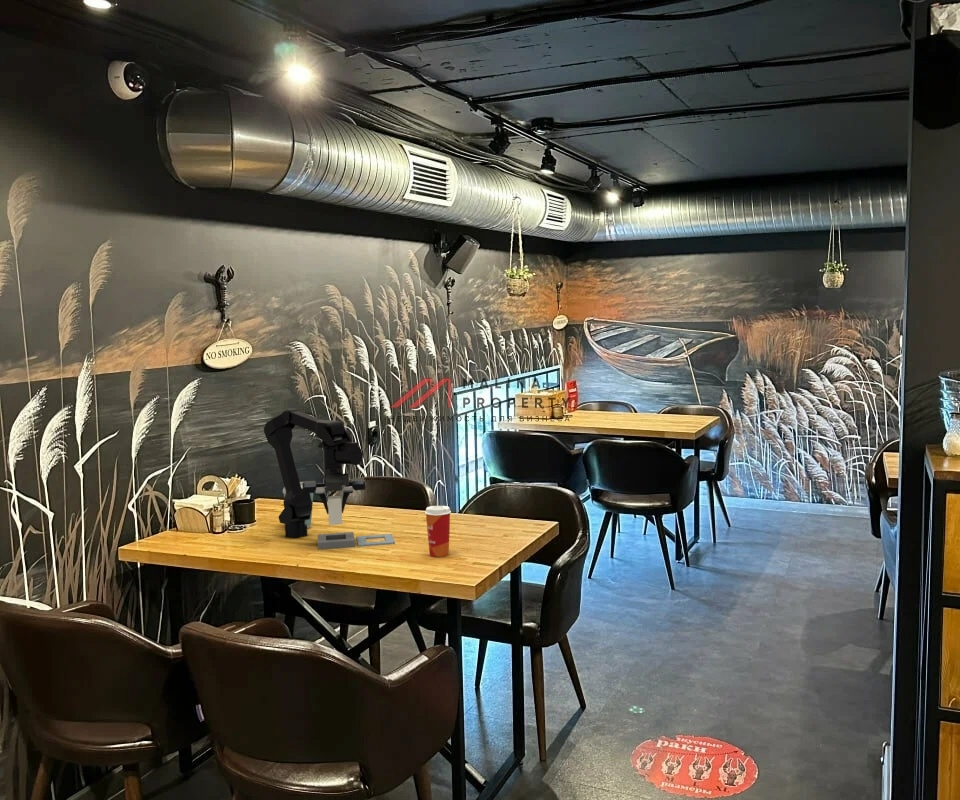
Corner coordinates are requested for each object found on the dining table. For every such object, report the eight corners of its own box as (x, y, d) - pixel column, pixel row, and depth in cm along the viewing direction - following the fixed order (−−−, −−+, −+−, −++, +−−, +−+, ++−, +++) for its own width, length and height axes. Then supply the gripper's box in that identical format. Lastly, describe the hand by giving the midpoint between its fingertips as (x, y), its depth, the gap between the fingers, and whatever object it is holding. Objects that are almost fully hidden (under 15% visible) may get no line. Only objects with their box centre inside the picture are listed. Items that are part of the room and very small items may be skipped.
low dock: (358, 551, 254) (358, 544, 253) (356, 542, 264) (356, 536, 264) (395, 548, 256) (394, 542, 255) (391, 540, 266) (391, 533, 266)
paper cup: (427, 551, 252) (426, 505, 250) (453, 551, 251) (451, 504, 250) (424, 558, 244) (423, 510, 243) (451, 558, 244) (449, 510, 242)
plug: (328, 525, 255) (327, 499, 254) (328, 522, 259) (327, 496, 258) (342, 524, 255) (341, 498, 255) (341, 521, 259) (340, 495, 259)
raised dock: (318, 554, 251) (317, 542, 251) (318, 545, 262) (317, 534, 262) (355, 551, 253) (354, 540, 253) (353, 542, 264) (353, 531, 264)
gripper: (301, 468, 246) (303, 521, 247) (365, 465, 249) (367, 517, 251) (301, 463, 257) (304, 513, 258) (363, 459, 260) (365, 509, 262)
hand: (335, 513), depth 257 cm, fingers closed on plug, 4 cm apart
